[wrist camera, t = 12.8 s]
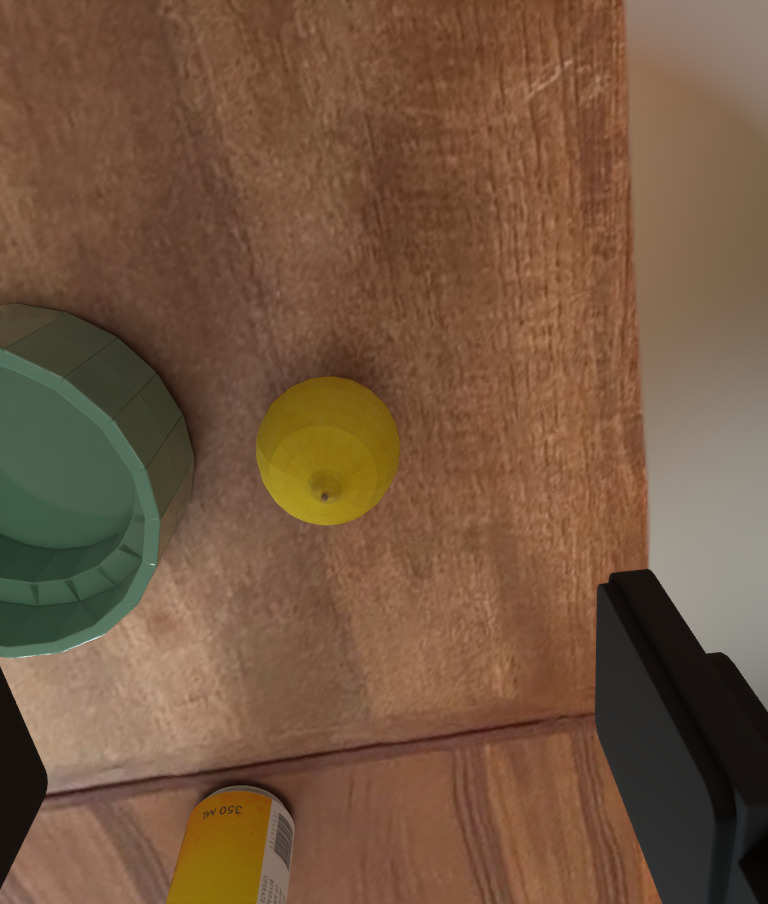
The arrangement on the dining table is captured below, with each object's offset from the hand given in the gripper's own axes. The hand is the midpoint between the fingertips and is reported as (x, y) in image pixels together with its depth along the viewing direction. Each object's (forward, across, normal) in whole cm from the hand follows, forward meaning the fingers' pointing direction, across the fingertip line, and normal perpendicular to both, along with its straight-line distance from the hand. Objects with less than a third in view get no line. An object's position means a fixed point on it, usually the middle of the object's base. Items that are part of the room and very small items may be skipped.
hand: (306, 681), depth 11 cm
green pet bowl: (+20, +14, +4) cm, 25 cm away
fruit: (+21, +1, +3) cm, 21 cm away
